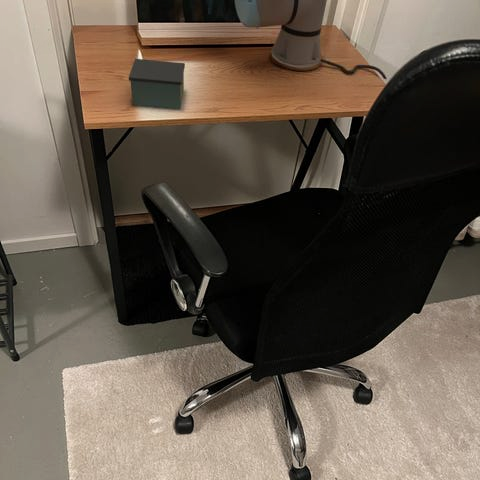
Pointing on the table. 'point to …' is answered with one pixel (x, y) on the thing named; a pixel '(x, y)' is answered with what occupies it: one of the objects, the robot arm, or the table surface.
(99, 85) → the table surface
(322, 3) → the robot arm
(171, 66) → the container
